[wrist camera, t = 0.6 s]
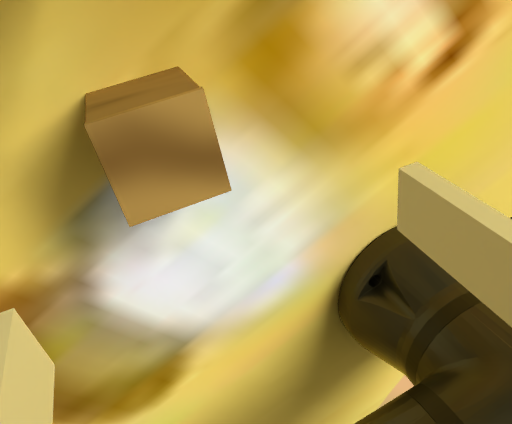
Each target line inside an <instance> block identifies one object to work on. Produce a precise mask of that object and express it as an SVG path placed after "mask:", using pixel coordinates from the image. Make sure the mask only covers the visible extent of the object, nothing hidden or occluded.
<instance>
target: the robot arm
mask: <svg viewBox="0 0 512 424" xmlns="http://www.w3.org/2000/svg"><path fill="white" fill-rule="evenodd" d="M338 310H339V315H340V318H341V321H342V323H343V324H344V326H345V327H346V329H347V330H348V331H349V333H350V334H351V335H352V337H353V338H354V339H355V340H356V341H357V342H358V343H359V344H360V345H361V346H362V347H364V348H365V349H367V350H369V351H370V352H372V353H373V354H374V355H376V356H377V357H379V358H381V359H382V360H384V361H385V362H387V363H388V364H390V365H391V366H393V367H394V368H396V369H397V370H399V371H400V372H402V373H403V374H405V375H406V376H407V377H408V379H409V380H410V381H411V382H412V383H413V385H414V387H412V388H411V389H409V390H408V391H406V392H404V393H403V394H401V395H400V396H398V397H396V398H395V399H393V400H392V401H390V402H388V403H387V404H385V405H384V406H382V407H380V408H379V409H377V410H376V411H374V412H372V413H371V414H369V415H368V416H366V417H364V418H363V419H361V420H360V421H358V422H356V423H355V424H512V217H511V218H509V217H507V216H505V215H504V214H502V213H500V212H499V211H497V210H496V209H494V208H492V207H491V206H489V205H487V204H486V203H484V202H482V201H481V200H479V199H478V198H476V197H474V196H473V195H471V194H469V193H468V192H466V191H464V190H463V189H461V188H459V187H458V186H456V185H455V184H453V183H451V182H450V181H448V180H446V179H445V178H443V177H441V176H440V175H438V174H436V173H435V172H433V171H432V170H430V169H428V168H427V167H425V166H423V165H422V164H420V163H418V162H415V163H412V164H410V165H407V166H404V167H401V168H399V180H398V215H397V227H395V228H393V229H391V230H389V231H388V232H386V233H384V234H383V235H381V236H380V237H379V238H377V239H376V240H375V241H374V242H372V243H371V244H370V245H369V246H368V247H367V248H366V249H365V250H364V251H363V252H362V253H361V254H360V255H359V256H358V258H357V259H356V260H355V262H354V263H353V264H352V266H351V267H350V269H349V271H348V272H347V274H346V276H345V278H344V281H343V283H342V286H341V289H340V293H339V299H338ZM54 371H55V365H54V363H53V362H52V361H51V359H50V358H49V356H48V355H47V354H46V352H45V351H44V349H43V348H42V347H41V345H40V344H39V343H38V341H37V340H36V338H35V337H34V336H33V334H32V333H31V331H30V330H29V329H28V327H27V326H26V325H25V323H24V322H23V320H22V319H21V318H20V316H19V315H18V313H17V312H16V311H15V309H14V308H12V309H10V310H7V311H4V312H1V313H0V424H53V398H54Z"/></svg>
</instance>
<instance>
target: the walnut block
mask: <svg viewBox="0 0 512 424" xmlns="http://www.w3.org/2000/svg"><path fill="white" fill-rule="evenodd" d="M84 127H85V129H86V131H87V133H88V135H89V138H90V140H91V142H92V144H93V147H94V149H95V151H96V153H97V155H98V158H99V160H100V162H101V164H102V167H103V169H104V171H105V173H106V175H107V178H108V180H109V182H110V184H111V187H112V189H113V191H114V193H115V195H116V198H117V200H118V202H119V204H120V207H121V209H122V211H123V213H124V215H125V218H126V220H127V222H128V224H129V227H131V226H134V225H137V224H140V223H142V222H145V221H148V220H151V219H154V218H156V217H159V216H162V215H165V214H167V213H170V212H173V211H176V210H179V209H181V208H184V207H187V206H190V205H192V204H195V203H198V202H201V201H204V200H206V199H209V198H212V197H215V196H218V195H220V194H223V193H226V192H229V191H231V187H230V183H229V179H228V176H227V172H226V169H225V165H224V161H223V158H222V154H221V151H220V147H219V143H218V140H217V136H216V132H215V129H214V125H213V122H212V118H211V114H210V111H209V107H208V104H207V100H206V96H205V93H204V89H203V88H202V87H199V86H198V85H197V84H196V83H195V82H194V81H193V80H192V79H191V78H190V77H189V76H188V75H187V74H186V73H185V72H184V71H182V70H181V69H180V68H179V67H174V68H171V69H168V70H164V71H161V72H158V73H154V74H151V75H147V76H144V77H141V78H137V79H134V80H131V81H127V82H124V83H121V84H117V85H114V86H110V87H107V88H104V89H100V90H97V91H94V92H90V93H87V94H86V118H85V123H84Z"/></svg>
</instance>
